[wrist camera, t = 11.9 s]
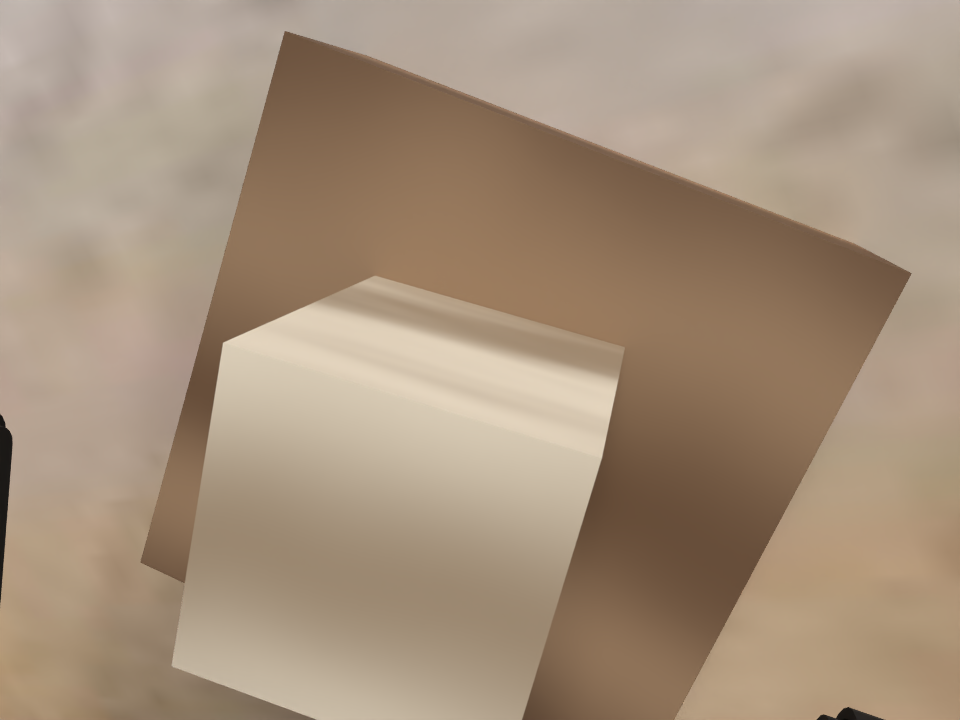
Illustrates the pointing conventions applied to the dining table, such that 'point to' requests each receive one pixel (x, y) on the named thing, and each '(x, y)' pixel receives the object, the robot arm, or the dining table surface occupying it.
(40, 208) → the dining table surface
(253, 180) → the walnut block
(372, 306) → the maple cube
